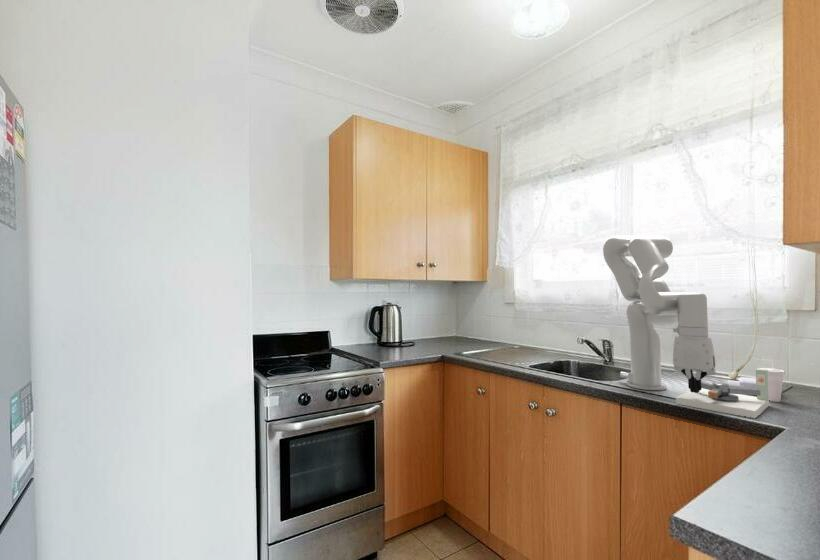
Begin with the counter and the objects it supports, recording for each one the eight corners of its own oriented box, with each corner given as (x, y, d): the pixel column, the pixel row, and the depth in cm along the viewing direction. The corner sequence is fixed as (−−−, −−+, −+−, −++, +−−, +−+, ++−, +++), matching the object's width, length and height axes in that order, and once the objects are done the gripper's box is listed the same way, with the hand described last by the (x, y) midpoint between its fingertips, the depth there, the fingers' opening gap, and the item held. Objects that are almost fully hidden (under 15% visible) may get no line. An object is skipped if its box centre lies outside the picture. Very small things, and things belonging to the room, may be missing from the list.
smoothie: (791, 403, 122) (790, 358, 123) (767, 402, 124) (766, 357, 124) (776, 397, 129) (775, 354, 129) (754, 396, 130) (752, 354, 130)
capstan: (677, 397, 122) (677, 383, 122) (693, 389, 131) (692, 376, 132) (750, 410, 109) (749, 394, 109) (761, 400, 118) (761, 386, 118)
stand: (675, 403, 123) (674, 368, 123) (695, 393, 135) (694, 361, 135) (755, 418, 108) (754, 378, 109) (769, 405, 120) (768, 369, 121)
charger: (719, 387, 144) (774, 393, 135) (720, 392, 137) (779, 399, 128) (719, 374, 144) (774, 379, 136) (720, 378, 137) (778, 384, 128)
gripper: (661, 331, 126) (663, 389, 125) (719, 335, 114) (721, 398, 114) (670, 330, 131) (671, 385, 130) (726, 333, 119) (728, 394, 118)
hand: (695, 391), depth 122 cm, fingers closed
